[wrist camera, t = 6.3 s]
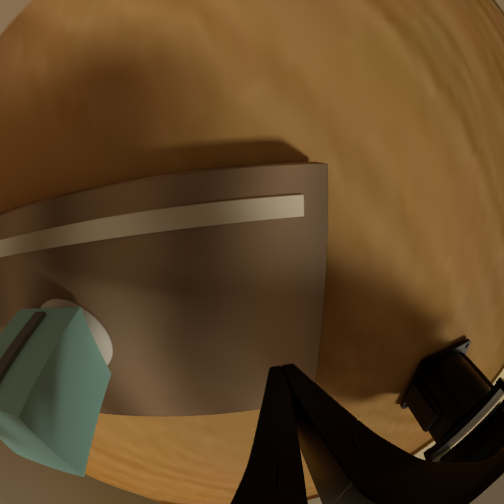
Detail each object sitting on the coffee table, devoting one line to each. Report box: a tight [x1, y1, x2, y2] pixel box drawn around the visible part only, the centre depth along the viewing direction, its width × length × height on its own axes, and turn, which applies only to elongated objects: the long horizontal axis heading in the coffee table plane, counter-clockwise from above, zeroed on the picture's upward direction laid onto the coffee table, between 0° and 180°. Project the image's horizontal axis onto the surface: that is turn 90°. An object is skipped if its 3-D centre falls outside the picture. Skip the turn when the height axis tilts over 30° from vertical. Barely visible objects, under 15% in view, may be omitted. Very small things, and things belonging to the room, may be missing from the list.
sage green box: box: [0, 307, 111, 477], centre depth 7 cm, size 4×4×6 cm
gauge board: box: [0, 162, 328, 416], centre depth 9 cm, size 24×13×5 cm, turn 93°
